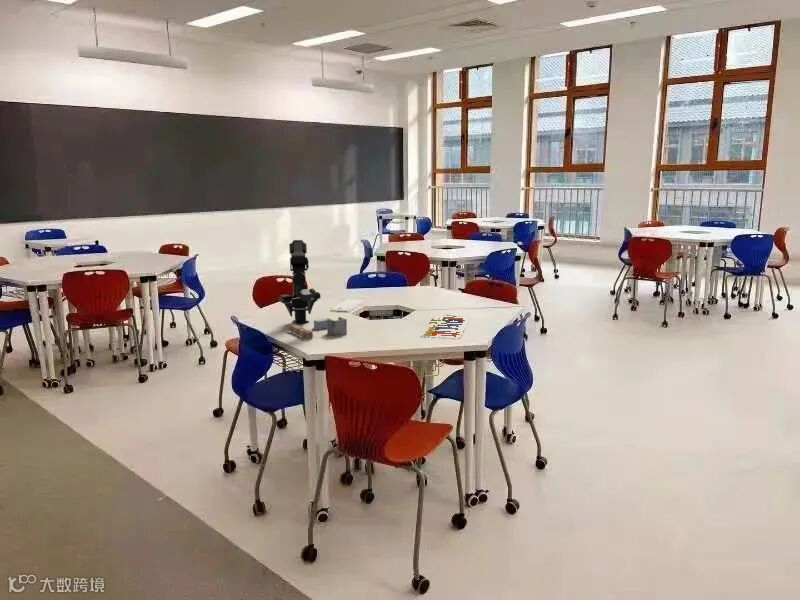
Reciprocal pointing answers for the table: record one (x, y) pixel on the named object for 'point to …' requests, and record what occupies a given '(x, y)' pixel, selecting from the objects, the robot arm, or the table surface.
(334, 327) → the cup bracket
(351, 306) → the baseboard
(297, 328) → the rail
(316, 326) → the support post
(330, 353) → the table surface
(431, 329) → the multicolored flat board
